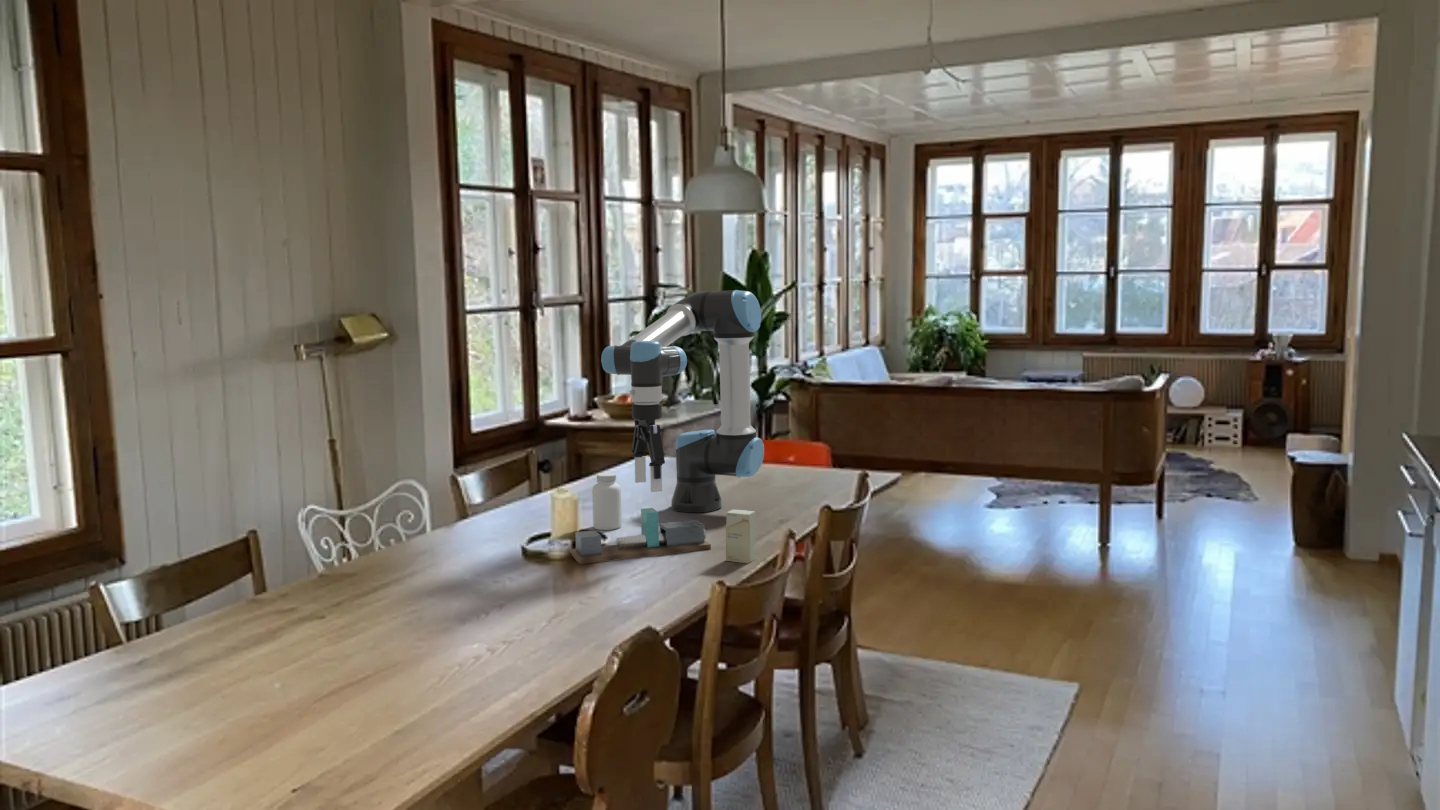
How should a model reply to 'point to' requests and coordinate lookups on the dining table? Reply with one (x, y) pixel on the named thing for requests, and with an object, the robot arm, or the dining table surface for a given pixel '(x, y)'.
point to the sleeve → (683, 532)
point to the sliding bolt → (646, 532)
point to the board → (636, 552)
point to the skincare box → (740, 536)
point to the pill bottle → (606, 502)
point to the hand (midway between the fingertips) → (648, 486)
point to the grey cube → (588, 543)
